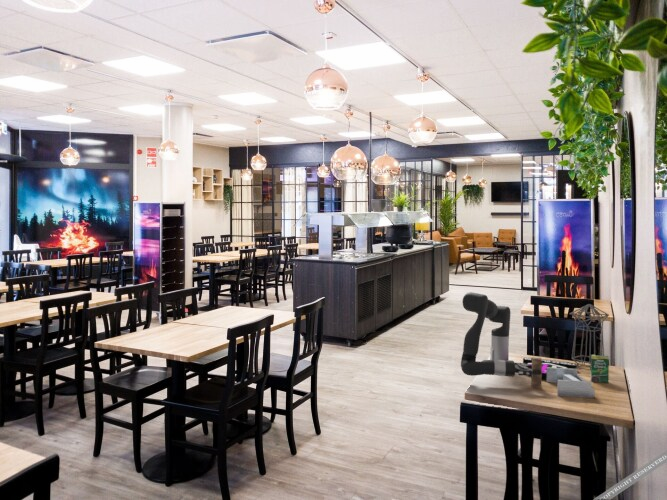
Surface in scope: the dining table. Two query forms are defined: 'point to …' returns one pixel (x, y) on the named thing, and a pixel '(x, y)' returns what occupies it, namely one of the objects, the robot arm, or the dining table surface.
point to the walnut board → (536, 378)
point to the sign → (551, 365)
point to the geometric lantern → (587, 331)
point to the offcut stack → (569, 378)
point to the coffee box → (599, 368)
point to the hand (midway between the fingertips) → (539, 369)
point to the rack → (569, 383)
